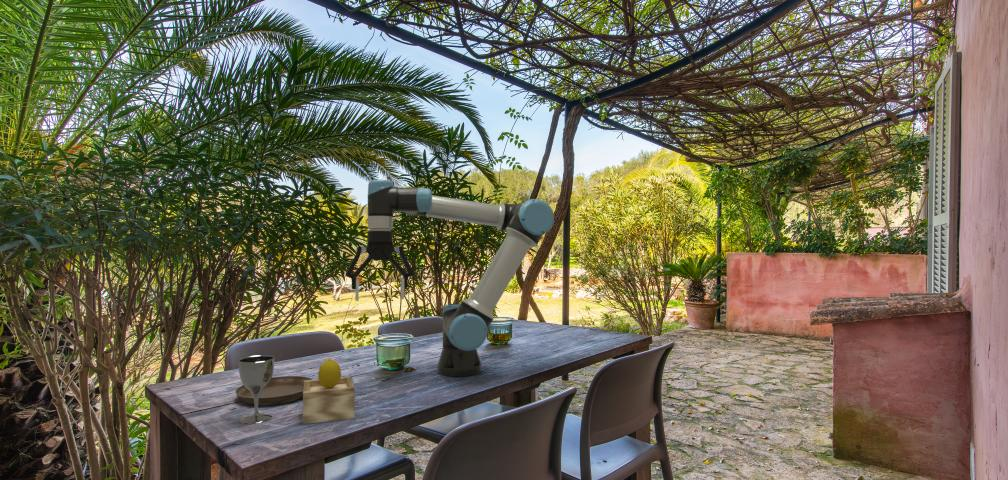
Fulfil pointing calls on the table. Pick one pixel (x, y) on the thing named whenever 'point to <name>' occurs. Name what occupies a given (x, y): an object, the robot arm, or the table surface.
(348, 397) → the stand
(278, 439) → the table surface
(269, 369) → the wine glass
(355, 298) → the robot arm
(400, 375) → the table surface
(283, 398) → the plant saucer
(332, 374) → the lemon
